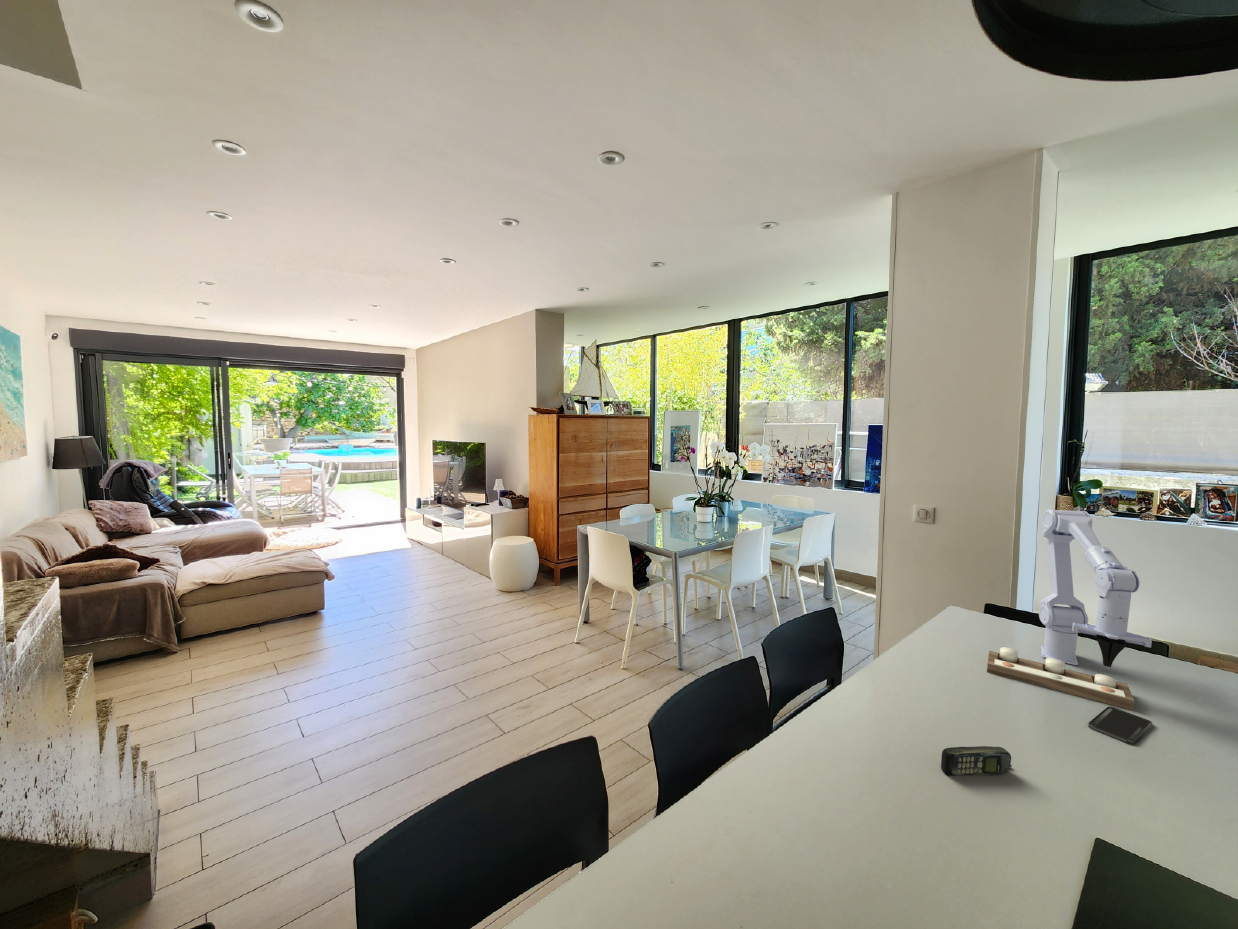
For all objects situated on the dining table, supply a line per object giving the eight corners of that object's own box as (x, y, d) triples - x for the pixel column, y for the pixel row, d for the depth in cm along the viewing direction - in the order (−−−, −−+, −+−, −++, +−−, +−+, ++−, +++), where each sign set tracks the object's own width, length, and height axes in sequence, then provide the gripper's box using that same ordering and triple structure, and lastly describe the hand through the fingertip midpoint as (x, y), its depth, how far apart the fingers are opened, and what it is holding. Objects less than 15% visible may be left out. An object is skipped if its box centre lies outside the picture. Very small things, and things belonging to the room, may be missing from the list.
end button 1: (1093, 681, 134) (1094, 672, 134) (1113, 686, 132) (1114, 677, 132) (1094, 687, 131) (1095, 678, 131) (1116, 693, 129) (1117, 683, 128)
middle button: (1044, 665, 140) (1045, 656, 140) (1063, 669, 138) (1064, 660, 138) (1045, 670, 137) (1046, 661, 137) (1064, 675, 135) (1065, 666, 134)
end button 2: (999, 654, 146) (1000, 645, 146) (1017, 658, 144) (1017, 650, 144) (999, 659, 143) (1000, 650, 143) (1017, 663, 141) (1018, 655, 141)
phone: (1086, 724, 116) (1109, 705, 124) (1086, 728, 116) (1108, 709, 124) (1134, 743, 110) (1154, 722, 117) (1133, 748, 110) (1154, 726, 117)
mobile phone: (949, 755, 99) (1021, 751, 100) (938, 745, 102) (1008, 741, 103) (947, 779, 99) (1019, 774, 100) (937, 768, 102) (1006, 764, 103)
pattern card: (994, 659, 143) (994, 658, 143) (1123, 691, 127) (1123, 690, 127) (994, 664, 140) (994, 663, 140) (1125, 697, 124) (1125, 696, 124)
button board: (988, 658, 149) (989, 650, 149) (1126, 693, 131) (1127, 684, 131) (986, 672, 141) (987, 663, 141) (1133, 710, 123) (1134, 700, 123)
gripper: (1076, 612, 131) (1070, 662, 132) (1156, 627, 122) (1150, 680, 123) (1073, 604, 136) (1068, 652, 138) (1150, 618, 128) (1144, 669, 129)
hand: (1106, 665), depth 131 cm, fingers closed
